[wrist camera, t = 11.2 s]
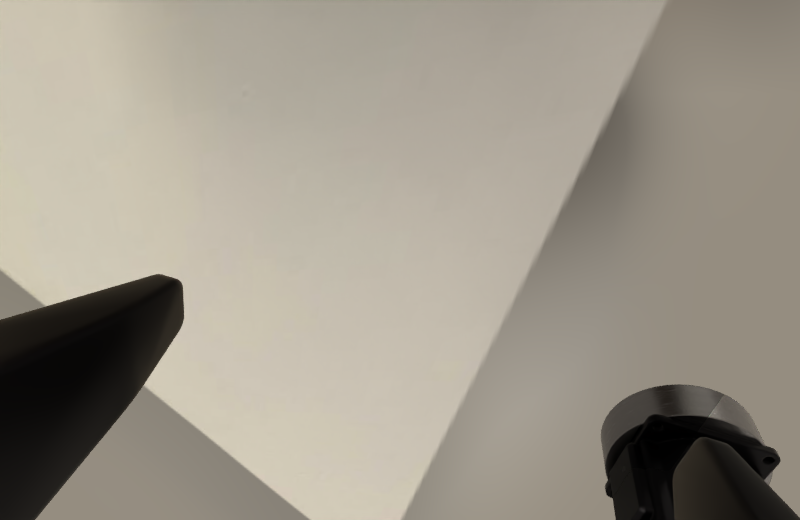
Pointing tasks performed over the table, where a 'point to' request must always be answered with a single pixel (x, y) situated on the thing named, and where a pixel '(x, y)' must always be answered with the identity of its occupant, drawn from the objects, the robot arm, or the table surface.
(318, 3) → the table surface
